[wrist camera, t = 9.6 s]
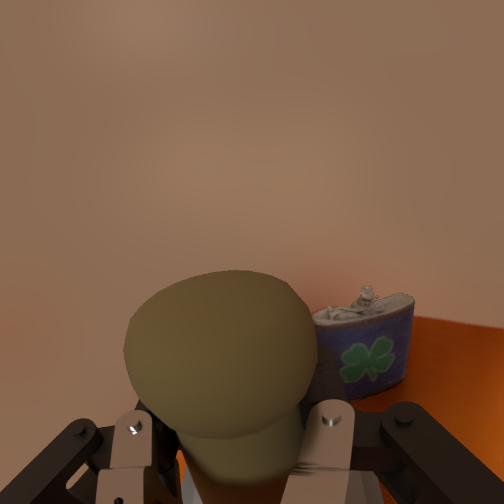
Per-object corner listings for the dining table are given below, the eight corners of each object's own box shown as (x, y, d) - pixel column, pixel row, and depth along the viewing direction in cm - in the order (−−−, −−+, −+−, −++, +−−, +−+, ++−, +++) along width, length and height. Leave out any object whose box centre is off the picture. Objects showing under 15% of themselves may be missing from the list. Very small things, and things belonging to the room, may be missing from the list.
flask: (399, 366, 26) (408, 270, 23) (411, 384, 24) (425, 284, 20) (311, 389, 27) (302, 292, 23) (317, 410, 24) (310, 312, 20)
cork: (227, 560, 7) (75, 407, 4) (190, 467, 13) (100, 283, 9) (354, 506, 9) (389, 296, 6) (294, 429, 14) (266, 236, 11)
